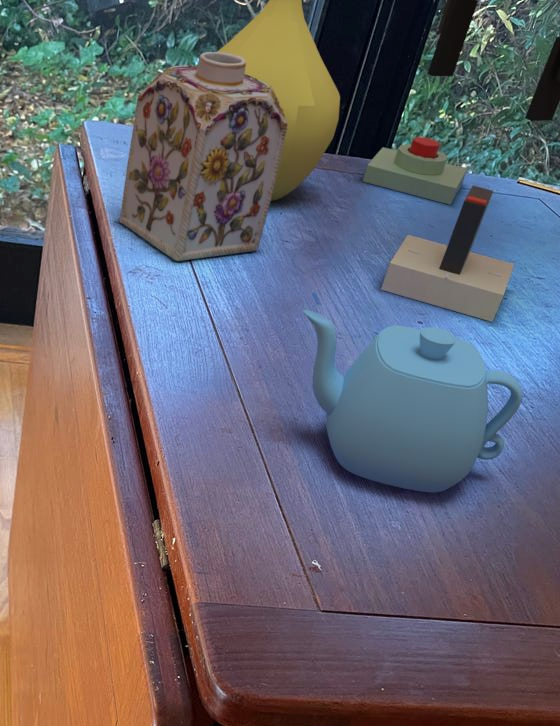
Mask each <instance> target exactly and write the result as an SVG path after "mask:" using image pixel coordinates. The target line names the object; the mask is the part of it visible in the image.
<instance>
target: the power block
mask: <svg viewBox="0 0 560 726" xmlns="http://www.w3.org/2000/svg"><path fill="white" fill-rule="evenodd" d="M411 144H412V143H408V144H400V146H399V147H398V148H397V149H396V150H395V149H393V148H387V147H381V149H380V150H379V151H378V152H377V153H376V154H375V156H373V158H372V159H371V160H370V161H369V163H367V165H366V168H365V171H364V175H363V178H362V183H366V184H369V185H374V186H377V187H381V188H385V189H388V190H392V191H396V192H400V193H404V194H408V195H411V196H415V197H418V198H423V199H427V200H430V201H434V202H438V203H441V204H445V205H449V206H450V205H452V203H453V202H454V200H455V198H456V196H457V195H458V192H459V191H460V189H461V187H462V186H463V183H464V180H465V178H466V176H467V172H468V168H466V167H462V166H458V165H455V164H451V163H447V161H448V156H447V155H446V154H445V153H444V152H443V151H440V150H438V152H437V155H436V158H424V157H421V156H417V155H414V154H412V153H410V152H409V150H410V147H411Z"/></svg>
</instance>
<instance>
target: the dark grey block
mask: <svg viewBox="0 0 560 726" xmlns="http://www.w3.org/2000/svg"><path fill="white" fill-rule="evenodd" d="M493 194H494V190H492V189H489V188H486V187H485V188H484V187H482V186H481V187H480V186H477V185H471V188H470V189H469V191H468V193H467V195H466V197H465V198H464V200H463V203H462V205H461V208H460V211H459V214H458V217H457V220H456V222H455V225H454V228H453V230H452V233H451V236H450V239H449V241H448V243H447V249H446V252H445V254H444V257H443V260H442V262H441V265H440V268H439V269H442V270H446V271H449V272H453V273H456V274H460V273H461V271H462V269H463V266H464V264H465V262H466V260H467V258H468V256H469V253H470V252H471V250H472V247H473V246H474V243H475V240H476V237H477V235H478V232H479V230H480V227H481V225H482V222H483V219H484V217H485V214H486V212H487V209H488V206H489V204H490V202H491V199H492V197H493Z"/></svg>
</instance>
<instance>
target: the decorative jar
mask: <svg viewBox="0 0 560 726" xmlns="http://www.w3.org/2000/svg"><path fill="white" fill-rule="evenodd" d="M245 66H246V62H245V60H244V59H243V58H242V57H240V56H237V55H233V54H228V53H222V52H218V51H206V52H203V53H201V54H200V55H199V58H198V65H191V64H188V65H185V64H184V65H183V64H181V65H173V66H170V67H168V68H167V69H165V70H164V71H163V72H161V73H160V74H158V75H157V76H155V77H154V78H153V79H152V81H151V82H150V83H149V84H147V85H146V86H145V87H144V89H143V90H142V91H141V92H140V93H139V94H138V96H137V100H136V108H135V113H134V121H133V126H132V133H131V138H130V139H131V140H130V144H129V145H130V146H129V151H128V157H127V165H126V171H125V179H124V186H123V192H122V202H121V210H120V217H119V223H121V224H122V225H124V226H125V227H127V228H128V229H130V230H131V231H132V232H134V233H135V234H137V235H138V236H139V237H141V238H142V239H144V240H145V241H147V242H148V243H150V244H151V245H152V246H153V247H155V248H156V249H158V250H159V251H161V252H162V253H163V254H165V255H167V257H169V258H171V259H172V260H173V261H176V262H182V261H188V260H196V259H203V258H210V257H211V258H212V257H220V256H226V255H227V256H229V255H236V254H244V253H250V252H255V251H257V250H258V249H259V247H260V244H261V241H262V236H263V231H264V228H265V225H266V222H267V217H268V213H269V209H270V205H271V202H272V201H271V197H272V192H273V188H274V184H275V179H276V175H277V171H278V167H279V162H280V157H281V153H282V148H283V144H284V140H285V135H286V131H287V126H288V125H287V121H286V119H285V115H284V112H283V109H282V108H281V107H280V104H279V101H278V98H277V97H276V95H275V93H274V90H273V88H272V86H270V85H268V84H266V83H264V82H262V81H260V80H258V79H256V78H254V77H251V76H249V75H246V74H244V73H245Z"/></svg>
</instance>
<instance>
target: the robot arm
mask: <svg viewBox="0 0 560 726" xmlns="http://www.w3.org/2000/svg"><path fill="white" fill-rule="evenodd" d="M478 2H479V0H446V2H445V5H444V9H443V12H442V15H441V18H440V20H439V24H438V29H437V30H438V32H437V33H438V34H439V36H438V40H437V42H436V45H435V49H434V52H433V55H432V58H431V61H430V64H429V68H428V71H427V75H428V76H432V77H454V73H455V72H456V68H457V66H458V63H459V59H460V56H461V53H462V50H463V47H464V44H465V42H466V39H467V38H466V37H467V36H468V33H469V29H470V26H471V24H472V20H473V17H474V14H475V11H476V8H477V5H478ZM559 104H560V36H556V37H555V40H554V41H553V44H552V47H551V50H550V52H549V55H548V57H547V60H546V62H545V65H544V68H543V70H542V73H541V76H540V78H539V80H538V83H537V86H536V89H535V91H534V93H533V96H532V98H531V101H530V104H529V106H528V109H527V111H526V114H525V117H524V119H526V120H528V121H530V122H536V121H539V122H541V121H542V122H543V121H544V122H545V121H546V122H547V121H553V119H554V116H555V114H556V112H557V109H558V107H559Z"/></svg>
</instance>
